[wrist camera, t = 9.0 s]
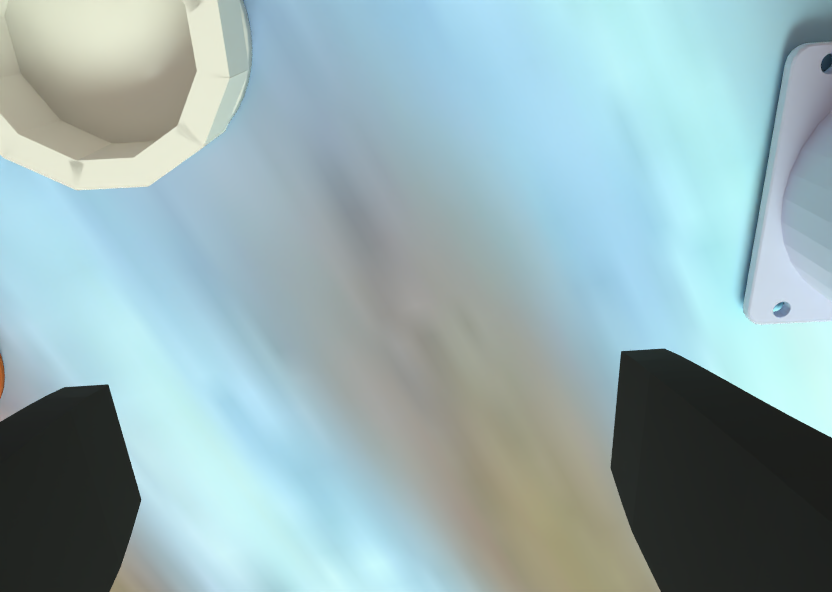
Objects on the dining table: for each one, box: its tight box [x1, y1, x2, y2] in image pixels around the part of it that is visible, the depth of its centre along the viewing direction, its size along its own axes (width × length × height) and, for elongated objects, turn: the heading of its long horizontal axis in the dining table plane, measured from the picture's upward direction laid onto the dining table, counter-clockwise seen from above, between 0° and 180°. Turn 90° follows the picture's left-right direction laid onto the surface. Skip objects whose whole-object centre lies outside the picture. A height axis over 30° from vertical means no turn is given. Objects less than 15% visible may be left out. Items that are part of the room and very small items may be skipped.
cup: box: [0, 0, 252, 190], centre depth 16 cm, size 6×6×3 cm
